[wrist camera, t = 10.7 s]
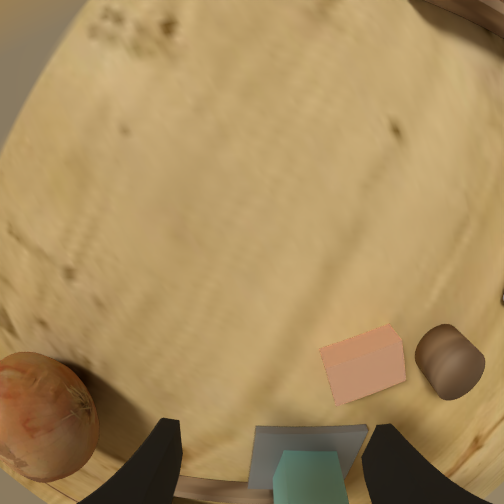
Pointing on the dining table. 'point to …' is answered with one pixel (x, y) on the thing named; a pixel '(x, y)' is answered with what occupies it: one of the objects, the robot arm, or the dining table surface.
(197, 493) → the brown wooden frame
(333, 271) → the dining table surface
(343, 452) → the slate coaster
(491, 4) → the block pen rim
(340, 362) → the terracotta box
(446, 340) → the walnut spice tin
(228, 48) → the dining table surface
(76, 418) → the onion
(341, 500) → the teal block
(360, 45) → the dining table surface
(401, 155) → the dining table surface
